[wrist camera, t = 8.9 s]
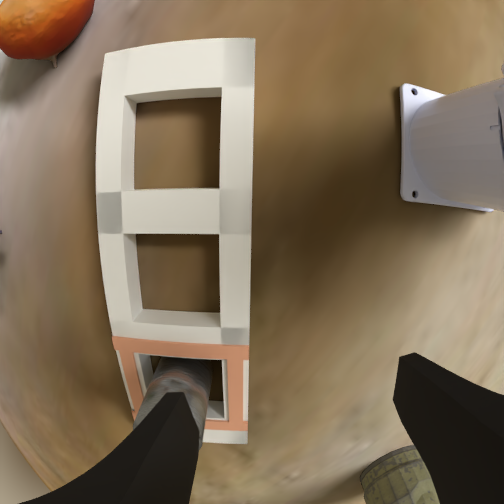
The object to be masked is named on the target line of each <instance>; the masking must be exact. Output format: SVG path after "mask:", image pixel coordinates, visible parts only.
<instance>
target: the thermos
mask: <svg viewBox="0 0 504 504" xmlns="http://www.w3.org/2000/svg"><path fill="white" fill-rule="evenodd" d="M360 482H361V485H362V486H363V489H364V499H365V502H366V504H440V503H439V499H438V496H437V493H436V490H435V487H434V484H433V482H432V479H431V476H430V474H429V472H428V470H427V467H426V465H425V463H424V462H423V460H422V458H421V456H420V454H419V453H418V451H417V449H416V447H415V445H411V446H407V447H403V448H400V449H398V450H395V451H393V452H390V453H388V454H387V455H385V456H383V457H381V458H379V459H378V460H376V461H375V462H373V463H372V464H371V465H369V466H368V467H367V468H366V469H365V470H364V471H363V473H362V475H361V476H360Z"/></svg>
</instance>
